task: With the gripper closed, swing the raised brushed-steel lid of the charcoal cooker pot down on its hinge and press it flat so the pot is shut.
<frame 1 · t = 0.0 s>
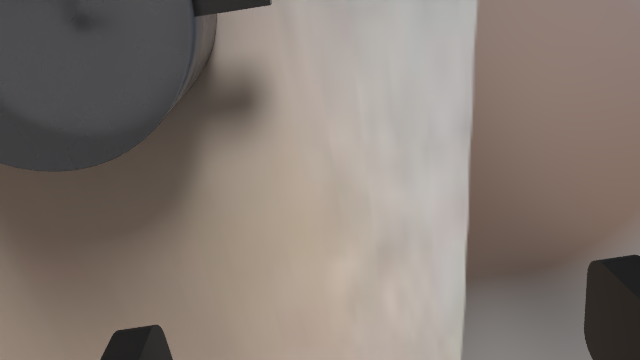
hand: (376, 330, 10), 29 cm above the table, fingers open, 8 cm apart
cooker pot: (96, 5, 35), on the table
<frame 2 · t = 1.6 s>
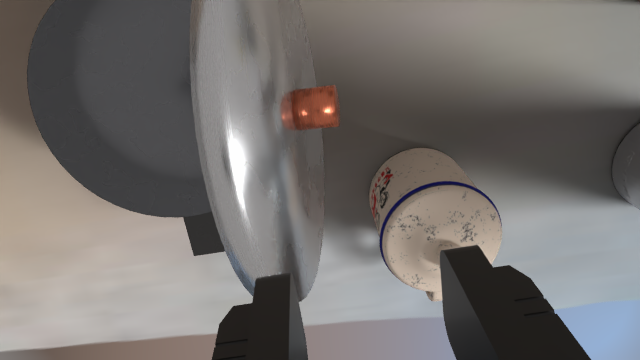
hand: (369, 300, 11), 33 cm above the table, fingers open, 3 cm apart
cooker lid: (299, 118, 24), point 19 cm above the table, hinge at 80.0°
cooker pot: (191, 71, 41), on the table
teacup with lid: (416, 205, 47), on the table
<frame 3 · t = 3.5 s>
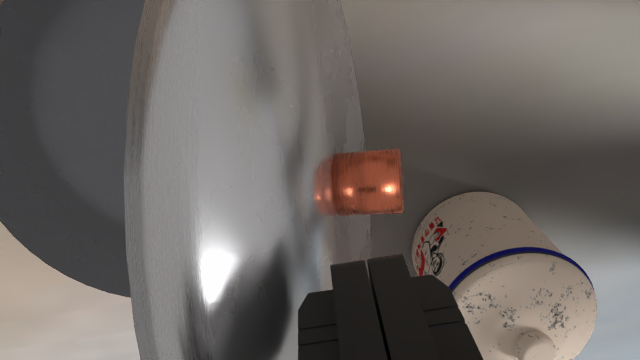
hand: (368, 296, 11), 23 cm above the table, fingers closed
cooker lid: (343, 205, 15), point 19 cm above the table, hinge at 76.9°, touching gripper
cooker pot: (190, 98, 33), on the table
teacup with lid: (469, 260, 38), on the table
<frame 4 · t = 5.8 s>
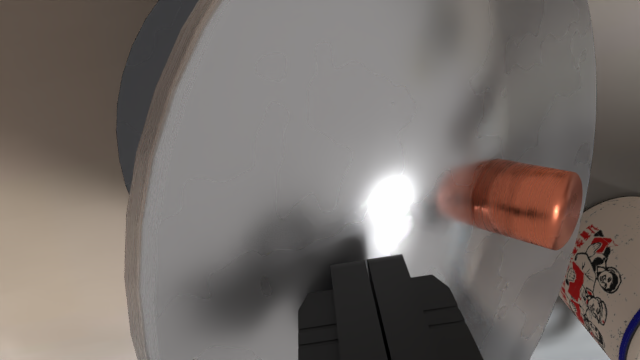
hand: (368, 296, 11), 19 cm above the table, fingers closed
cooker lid: (474, 220, 13), point 17 cm above the table, hinge at 39.6°, touching gripper
cooker pot: (322, 91, 29), on the table
teacup with lid: (609, 272, 34), on the table
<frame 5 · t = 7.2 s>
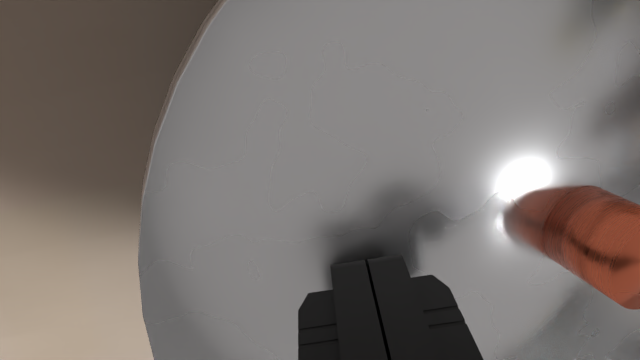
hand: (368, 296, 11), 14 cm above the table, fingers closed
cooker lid: (535, 251, 12), point 14 cm above the table, hinge at 14.7°, touching gripper
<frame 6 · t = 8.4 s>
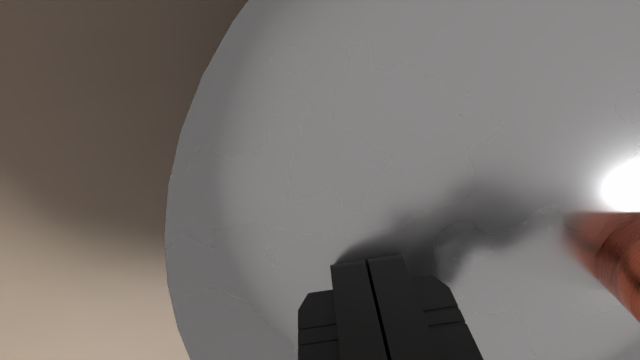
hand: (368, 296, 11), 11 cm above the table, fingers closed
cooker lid: (581, 277, 10), point 12 cm above the table, hinge at 0.4°, touching gripper
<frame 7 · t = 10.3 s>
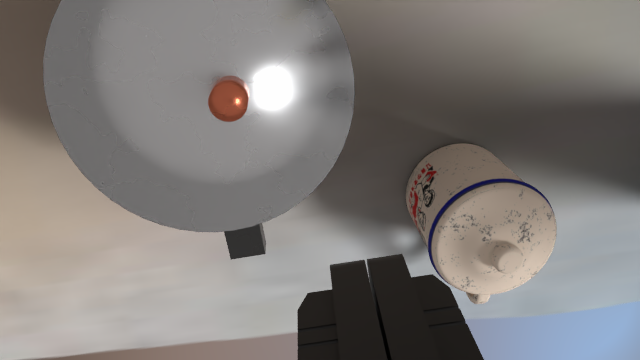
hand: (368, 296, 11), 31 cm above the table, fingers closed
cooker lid: (202, 99, 28), point 12 cm above the table, hinge at 0.3°
cooker pot: (223, 60, 39), on the table
teacup with lid: (453, 203, 45), on the table
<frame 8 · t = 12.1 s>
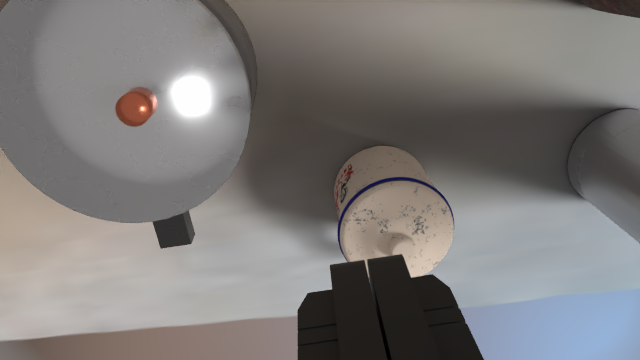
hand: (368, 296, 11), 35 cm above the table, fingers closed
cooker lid: (116, 107, 33), point 12 cm above the table, hinge at 0.3°
cooker pot: (160, 72, 43), on the table
teacup with lid: (380, 201, 49), on the table
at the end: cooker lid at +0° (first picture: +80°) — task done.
